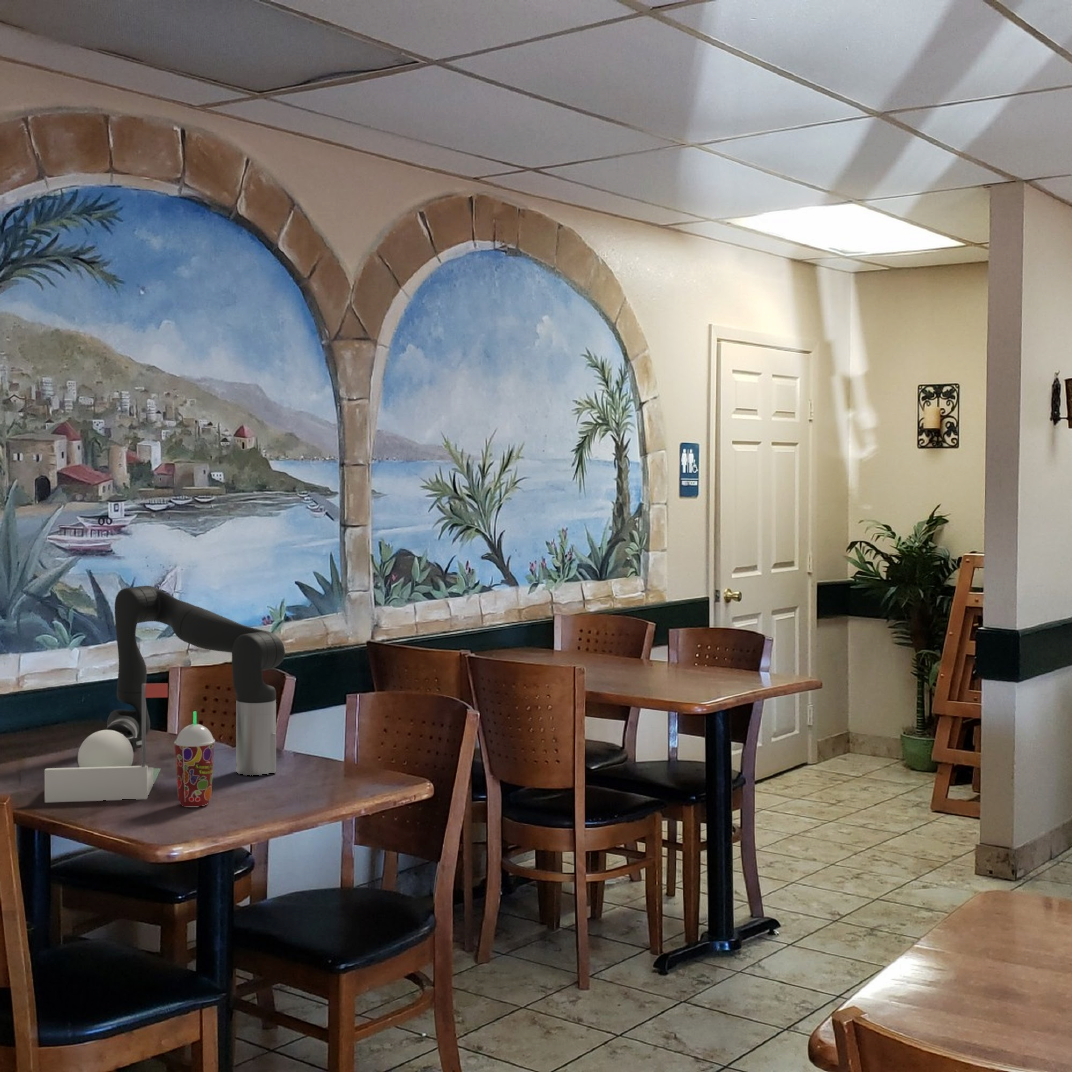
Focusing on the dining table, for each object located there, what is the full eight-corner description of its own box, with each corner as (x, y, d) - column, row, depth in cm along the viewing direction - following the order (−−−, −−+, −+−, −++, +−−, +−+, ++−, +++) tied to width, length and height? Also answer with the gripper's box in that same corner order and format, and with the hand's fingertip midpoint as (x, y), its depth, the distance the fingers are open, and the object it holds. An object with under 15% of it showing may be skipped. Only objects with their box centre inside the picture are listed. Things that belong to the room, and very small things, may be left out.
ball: (137, 741, 302) (131, 720, 292) (134, 790, 295) (128, 769, 285) (84, 743, 299) (76, 722, 290) (79, 792, 293) (71, 772, 283)
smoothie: (204, 810, 270) (204, 715, 269) (167, 808, 271) (167, 713, 271) (221, 801, 278) (221, 709, 277) (185, 799, 280) (185, 707, 279)
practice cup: (178, 769, 309) (178, 665, 308) (167, 798, 280) (167, 683, 279) (68, 772, 304) (67, 666, 303) (44, 802, 275) (44, 686, 274)
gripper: (91, 721, 314) (80, 734, 297) (148, 720, 316) (139, 733, 299) (91, 751, 314) (80, 767, 297) (148, 750, 317) (139, 765, 300)
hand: (110, 750), depth 298 cm, fingers closed
